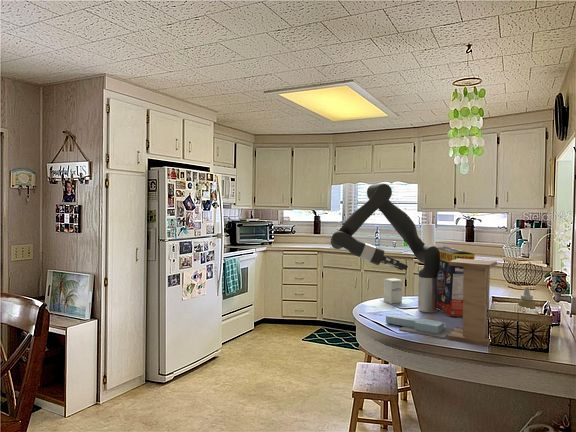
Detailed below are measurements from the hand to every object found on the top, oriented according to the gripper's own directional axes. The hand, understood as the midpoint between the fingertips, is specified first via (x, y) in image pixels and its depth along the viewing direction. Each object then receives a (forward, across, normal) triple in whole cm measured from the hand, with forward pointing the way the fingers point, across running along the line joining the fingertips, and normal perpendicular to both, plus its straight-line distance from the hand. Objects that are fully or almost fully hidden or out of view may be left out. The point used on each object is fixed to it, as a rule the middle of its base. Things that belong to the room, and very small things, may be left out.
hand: (405, 268), depth 196 cm
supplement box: (+9, +46, +16) cm, 49 cm away
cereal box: (+34, +27, +8) cm, 44 cm away
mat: (+17, -8, +22) cm, 28 cm away
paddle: (+11, -5, +23) cm, 26 cm away
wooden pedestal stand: (+31, -17, +17) cm, 40 cm away
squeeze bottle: (+57, -1, +4) cm, 57 cm away
